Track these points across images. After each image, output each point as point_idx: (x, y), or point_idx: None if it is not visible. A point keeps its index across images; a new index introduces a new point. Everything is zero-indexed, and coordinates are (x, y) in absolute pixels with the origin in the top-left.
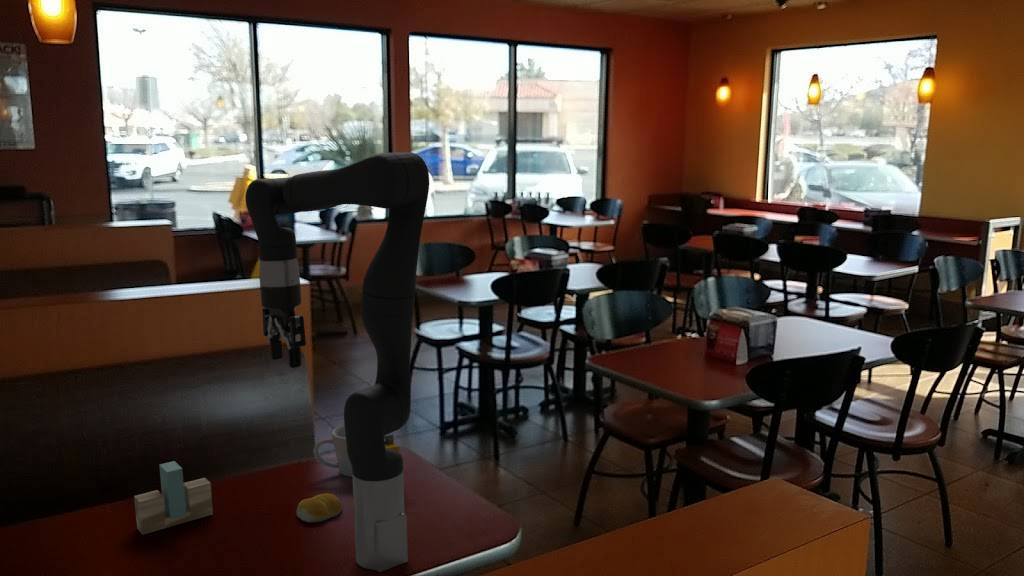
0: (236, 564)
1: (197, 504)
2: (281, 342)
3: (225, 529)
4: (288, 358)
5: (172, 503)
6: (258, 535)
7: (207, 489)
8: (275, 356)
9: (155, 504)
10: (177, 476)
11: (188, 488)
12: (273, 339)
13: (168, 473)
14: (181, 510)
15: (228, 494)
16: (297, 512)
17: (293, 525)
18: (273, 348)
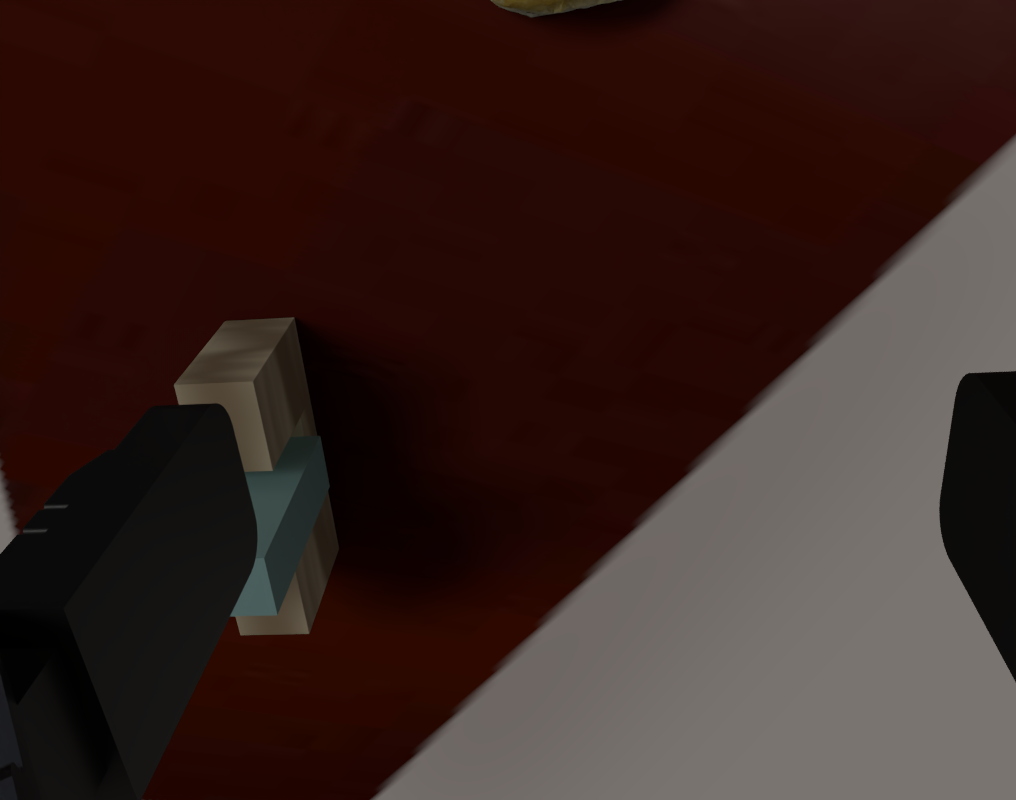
0: (769, 365)
1: (288, 399)
2: (89, 574)
3: (461, 316)
4: (998, 646)
5: (314, 512)
6: (596, 226)
7: (264, 383)
8: (237, 531)
9: (306, 567)
10: (278, 557)
11: (268, 469)
12: (77, 795)
13: (278, 604)
14: (317, 462)
15: (114, 205)
16: (524, 12)
17: (602, 63)
18: (180, 655)
